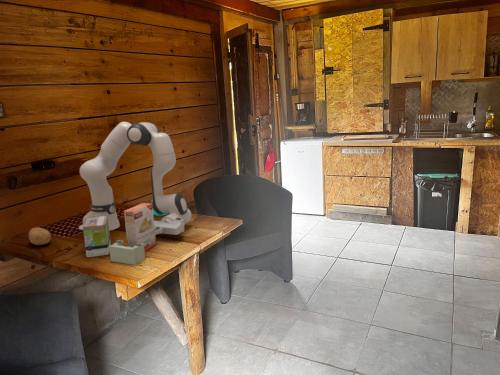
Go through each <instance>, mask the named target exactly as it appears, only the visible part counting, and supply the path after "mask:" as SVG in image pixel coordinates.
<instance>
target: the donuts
mask: <svg viewBox="0 0 500 375" xmlns="http://www.w3.org/2000/svg"><path fill="white" fill-rule="evenodd" d="M152 200H153V198H152V199H151V203H152ZM169 214H170V213H166V214H161V215H160V214H157V213H156V212H155V211H154V209H153V216H155V217H165V216H167V215H169Z"/></svg>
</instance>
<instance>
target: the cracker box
mask: <svg viewBox="0 0 500 375" xmlns="http://www.w3.org/2000/svg"><path fill="white" fill-rule="evenodd" d="M153 210H154V209H153V204H152V203H145V202H141V203H139V204H137V205H134V206H133V207H130V208H128V209H125V210H123V214H124V215H123V216H124V223H125V233H126V234H125V235H126V242H127V247H134V246H136V243H138V242H141V243H142V244H144V252H147V251H148V250H150V249H152V248H153V247H155V246H156V245H157V241H156V235H155V227H154V221H155V217H154V216H155V215H153Z"/></svg>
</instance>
